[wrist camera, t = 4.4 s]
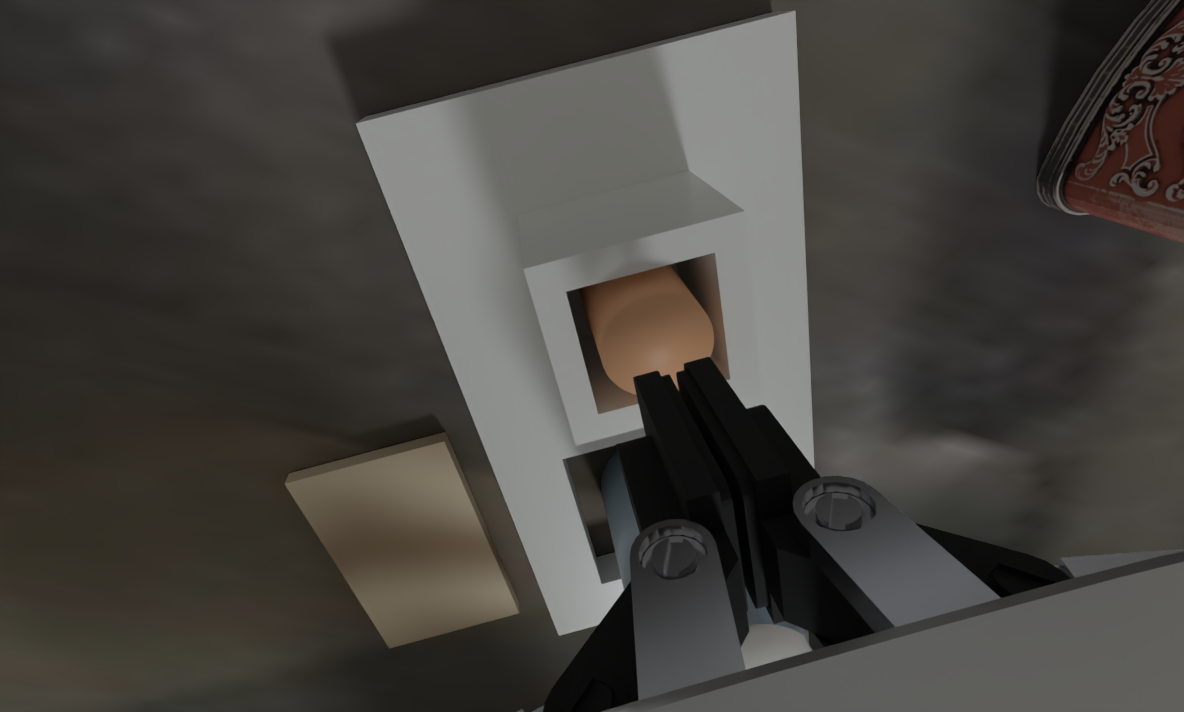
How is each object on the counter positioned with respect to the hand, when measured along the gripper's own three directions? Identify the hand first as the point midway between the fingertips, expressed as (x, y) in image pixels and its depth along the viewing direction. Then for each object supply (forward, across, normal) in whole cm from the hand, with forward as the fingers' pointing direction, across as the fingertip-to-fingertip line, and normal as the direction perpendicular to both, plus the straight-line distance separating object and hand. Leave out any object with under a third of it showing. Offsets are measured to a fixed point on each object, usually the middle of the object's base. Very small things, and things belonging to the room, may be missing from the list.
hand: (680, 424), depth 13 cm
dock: (+9, 0, +4) cm, 10 cm away
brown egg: (+7, 0, -1) cm, 7 cm away
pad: (+9, +10, +9) cm, 16 cm away
